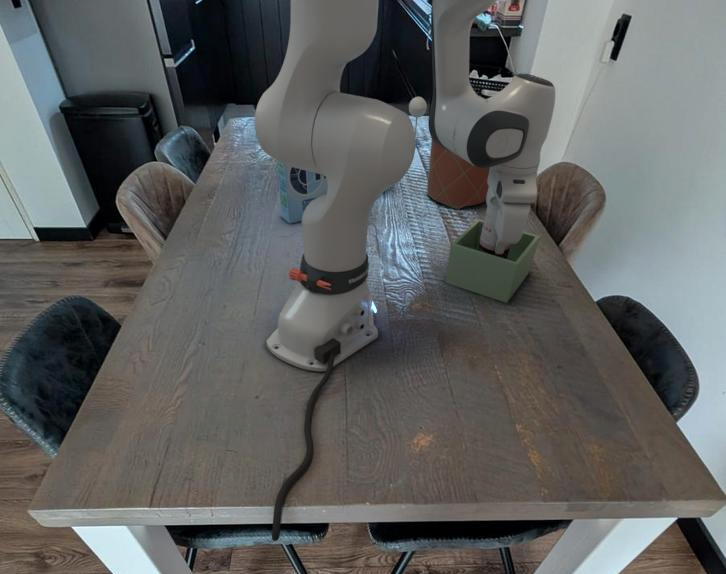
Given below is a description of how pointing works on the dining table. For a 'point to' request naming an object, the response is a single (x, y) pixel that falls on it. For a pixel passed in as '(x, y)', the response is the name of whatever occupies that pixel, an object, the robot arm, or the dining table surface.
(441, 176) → the planter
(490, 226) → the beverage can
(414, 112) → the lollipop
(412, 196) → the dining table surface
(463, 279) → the basket
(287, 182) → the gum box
